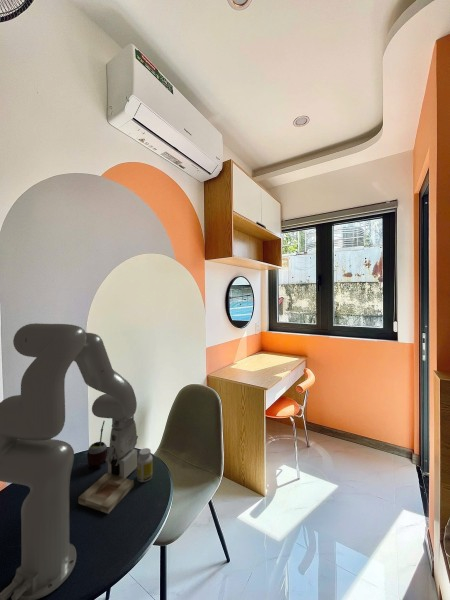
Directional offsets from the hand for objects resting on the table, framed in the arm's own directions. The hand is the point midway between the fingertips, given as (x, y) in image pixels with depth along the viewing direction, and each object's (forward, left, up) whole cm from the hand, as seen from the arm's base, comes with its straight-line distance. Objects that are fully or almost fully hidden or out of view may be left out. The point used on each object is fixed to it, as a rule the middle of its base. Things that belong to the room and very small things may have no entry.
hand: (122, 467), depth 96 cm
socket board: (-10, -2, -2) cm, 10 cm away
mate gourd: (+1, +13, -3) cm, 13 cm away
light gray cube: (0, 0, -1) cm, 1 cm away
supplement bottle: (+1, -9, -3) cm, 9 cm away
